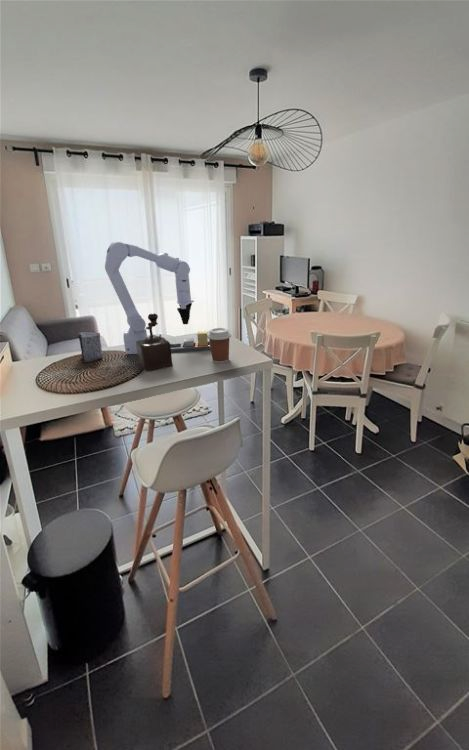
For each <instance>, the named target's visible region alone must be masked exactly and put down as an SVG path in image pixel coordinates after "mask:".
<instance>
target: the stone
mask: <svg viewBox="0 0 469 750" xmlns="http://www.w3.org/2000/svg"><path fill="white" fill-rule="evenodd" d="M77 335H78V340H79V345H80V351H81V358H82V359H81V360H82V362H83V363H90V362H93V361H97V360H99V359H103V358H104V356H105V354H104V352H103V349H102V343H101V333H100V332H91V331H89V332H86V331H80V332H78V333H77Z"/></svg>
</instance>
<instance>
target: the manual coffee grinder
mask: <svg viewBox="0 0 469 750" xmlns="http://www.w3.org/2000/svg"><path fill="white" fill-rule="evenodd" d="M147 318H148V319H147V320H149V321H150V322H148V323H147V326H145V328H146V330H149V336H147V338H145V339H144V340H140V341H136V347H137V353H138V354H137V358H138V363H139V365H141V366H142V367H141V366H140V367H141V368H142V369H144V371H146V372H152V371H156V370H161V369H166V368H170V367H173V365H174V364H173V357H172V352H171V347H170V344H171V343H170V342H169V341H168V340H167V339H166V338H165V337H163V336H162V335H161V334H159V336H158V335H154V334H153V327H156V326H157V325H158V324H159V323H158V322H157V321H158V319H159V316H158V314H157V313H155V312H153V313H149V314H148V316H147Z"/></svg>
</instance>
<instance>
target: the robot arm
mask: <svg viewBox="0 0 469 750" xmlns="http://www.w3.org/2000/svg"><path fill="white" fill-rule="evenodd" d="M127 257H129V258H132V257H139V258H142V259H145V260H147V261H150V262H154V263H155V265H156V267H157V268H160V269H161V270H162V269H163V270H165V271H167V272H171V273H174V276H175V287H176V289H175V290H176V298H177V300H176V303H177V304H178V306H179V307H177V309H176V310H177V312H178V314H179V316H180V319H181V322H182V324H183V325H188V324H189V322H190V316H191V315H190V314H191V309H192V305H193V303H195V299H192V298H191V287H190V285H191V284H190V276H189V274H190V272H191V267H190V265H189V264H188V263H187V262H186V261H183V260H181V259H180V258H179V257H174V256H170V255H169V253H167V252H164V253H163V252H161V253H159V254H156V253H153V252H152V251H149V250H147V249H145V248H142V247H139V246H137V245H134V244H129V243H124V242H121V241H113V242H111V243H110V245H109V246H108V249H107V250H106V256H105V263H104V271H105V272H106V275H107V276H108V278H109V280H110V283H111V286H112V288H113V289H114V292H115V294H116V295H117V297H118V299H119V302H120V303H121V306H122V308H123V310H124V312H125V315H126V322H127V324H128V326H129V328H128V329H127V330H128V331H127V330H126V331H124V332H123V344H124V345H123V346H124V349H125V355H138V353H137V347H136V341H140V340H144V339H145V338H147V337H148V333H147V329H146V327H147V326H146V325H147V324H146V321H145V319H144V318H143V317H142V315H140V313H139V312H138V310H137V309H138V308H137V307H136V306H135V303H134V301H133V298H132V296H131V295H130V293H129V290H128V288H127V286H126V284H125V281H124V279H123V277H122V275H121V272H120V267H121V265H122V263H123V262H124V261H125V260H126V258H127Z"/></svg>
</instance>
